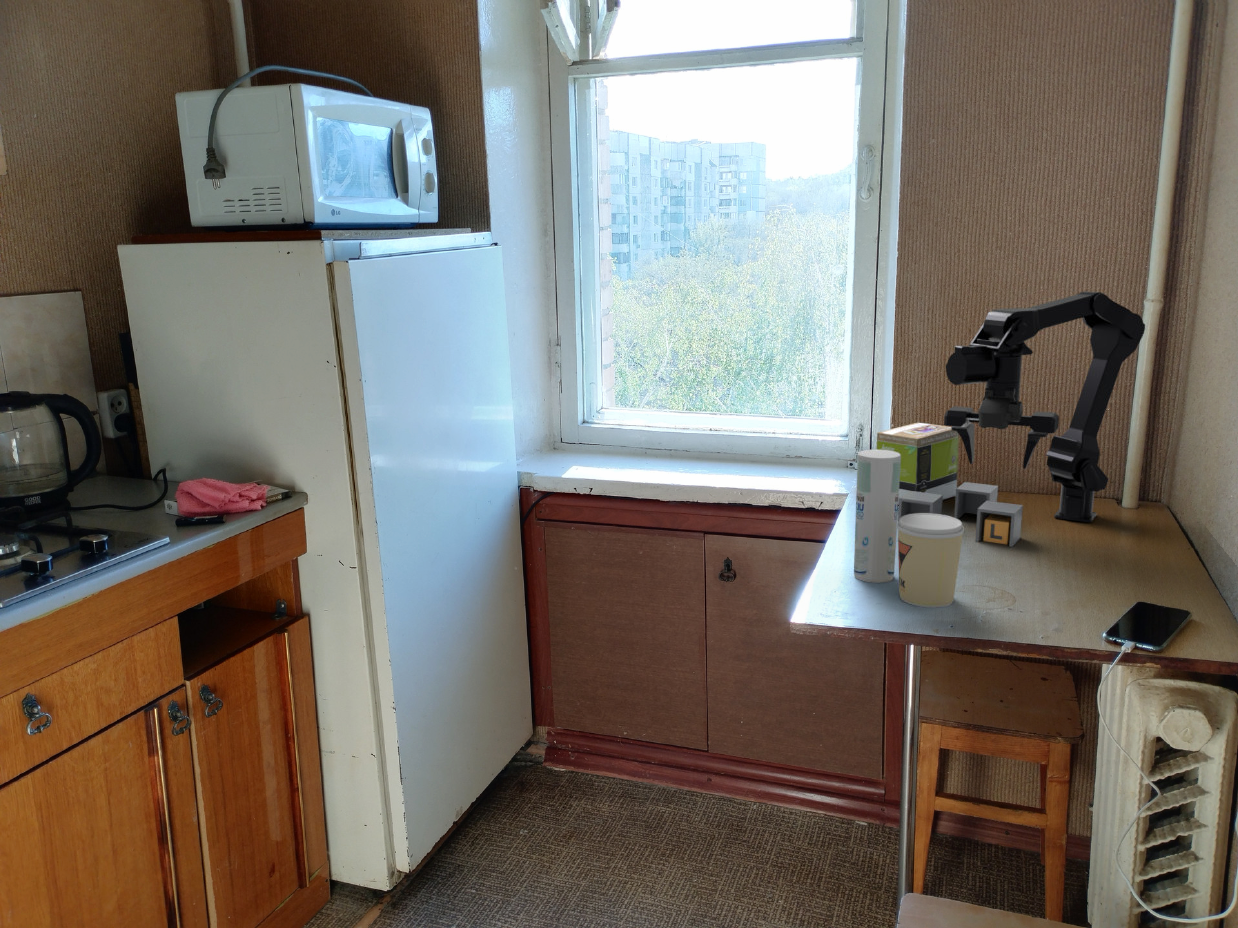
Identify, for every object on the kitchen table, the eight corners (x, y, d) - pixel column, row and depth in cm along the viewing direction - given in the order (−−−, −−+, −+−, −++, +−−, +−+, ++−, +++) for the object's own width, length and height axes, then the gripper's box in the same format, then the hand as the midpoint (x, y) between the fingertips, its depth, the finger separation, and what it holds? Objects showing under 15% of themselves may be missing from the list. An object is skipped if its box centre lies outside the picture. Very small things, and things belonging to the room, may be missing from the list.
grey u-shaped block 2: (908, 521, 184) (909, 490, 182) (941, 526, 180) (942, 494, 179) (897, 529, 179) (899, 498, 177) (931, 534, 175) (932, 502, 174)
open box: (963, 511, 190) (964, 481, 188) (995, 516, 186) (998, 485, 185) (954, 519, 185) (956, 488, 183) (987, 523, 181) (990, 493, 180)
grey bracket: (984, 532, 176) (986, 500, 175) (1020, 537, 173) (1022, 505, 171) (975, 541, 171) (977, 508, 170) (1012, 546, 168) (1014, 513, 166)
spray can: (898, 583, 151) (904, 458, 146) (855, 582, 151) (860, 458, 147) (890, 569, 157) (896, 449, 153) (850, 569, 158) (854, 449, 153)
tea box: (915, 488, 208) (919, 420, 205) (957, 497, 200) (962, 427, 197) (872, 500, 199) (876, 430, 195) (915, 510, 191) (919, 437, 188)
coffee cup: (897, 584, 150) (900, 510, 148) (960, 591, 147) (965, 515, 144) (890, 605, 142) (894, 526, 139) (957, 613, 139) (963, 532, 136)
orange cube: (989, 535, 175) (990, 513, 174) (1012, 538, 172) (1014, 516, 171) (983, 541, 171) (984, 519, 170) (1006, 544, 169) (1008, 522, 168)
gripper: (938, 384, 171) (934, 470, 174) (1052, 390, 161) (1046, 481, 165) (953, 376, 180) (949, 457, 184) (1062, 381, 170) (1055, 467, 174)
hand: (997, 465), depth 176 cm, fingers open, 9 cm apart
